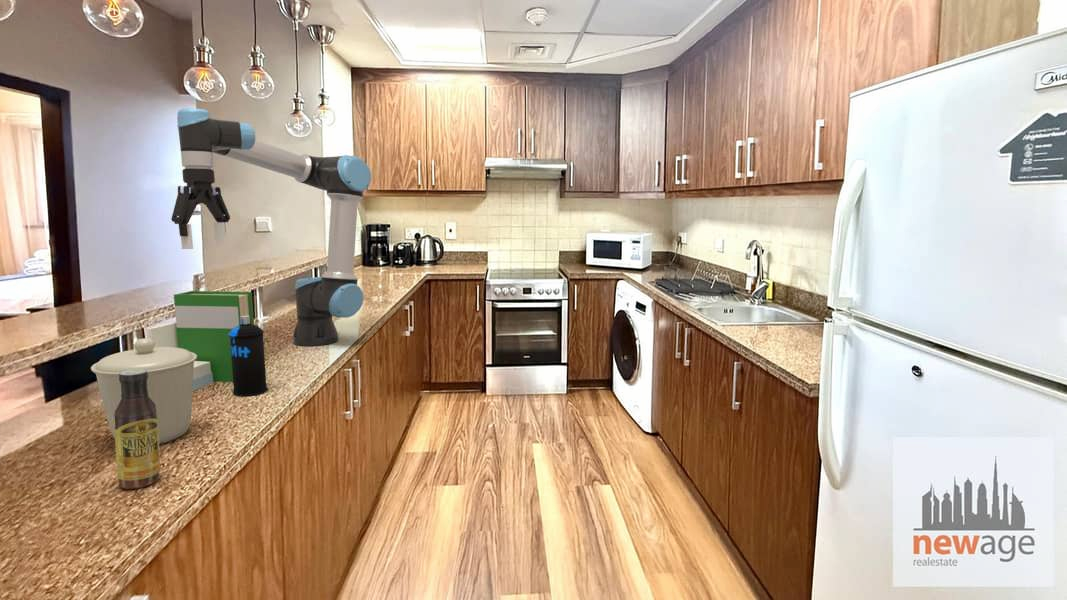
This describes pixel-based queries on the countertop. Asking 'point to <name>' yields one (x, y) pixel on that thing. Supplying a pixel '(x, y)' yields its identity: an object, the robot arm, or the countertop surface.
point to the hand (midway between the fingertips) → (205, 247)
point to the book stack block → (202, 375)
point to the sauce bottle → (136, 432)
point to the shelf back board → (164, 335)
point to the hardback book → (211, 326)
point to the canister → (152, 384)
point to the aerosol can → (248, 359)
